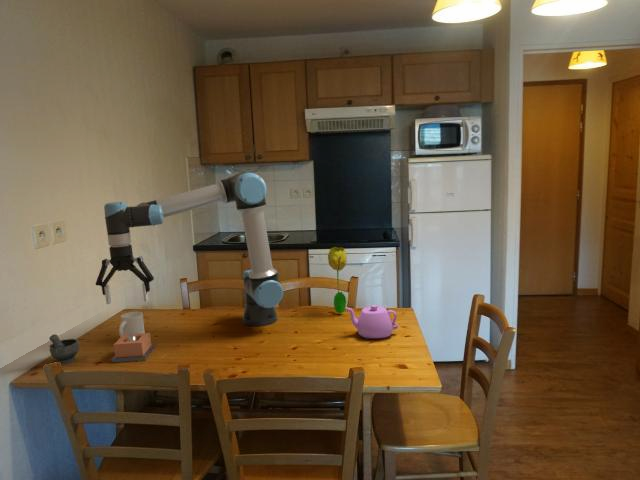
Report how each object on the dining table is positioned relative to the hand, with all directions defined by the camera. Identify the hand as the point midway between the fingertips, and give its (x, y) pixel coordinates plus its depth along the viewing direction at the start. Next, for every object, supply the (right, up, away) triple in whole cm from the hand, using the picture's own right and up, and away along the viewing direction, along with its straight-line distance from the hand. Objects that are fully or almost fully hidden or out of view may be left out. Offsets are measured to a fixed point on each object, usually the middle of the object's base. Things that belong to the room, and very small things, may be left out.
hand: (127, 301), depth 177 cm
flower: (+80, -10, +36) cm, 88 cm away
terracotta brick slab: (+1, -19, +3) cm, 19 cm away
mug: (-6, -18, +19) cm, 28 cm away
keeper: (+1, -20, +3) cm, 21 cm away
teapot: (+91, -14, +10) cm, 93 cm away
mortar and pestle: (-23, -22, +1) cm, 32 cm away
